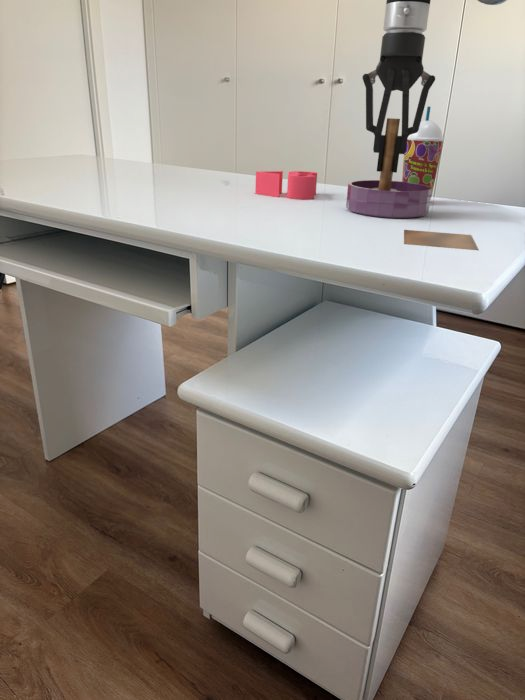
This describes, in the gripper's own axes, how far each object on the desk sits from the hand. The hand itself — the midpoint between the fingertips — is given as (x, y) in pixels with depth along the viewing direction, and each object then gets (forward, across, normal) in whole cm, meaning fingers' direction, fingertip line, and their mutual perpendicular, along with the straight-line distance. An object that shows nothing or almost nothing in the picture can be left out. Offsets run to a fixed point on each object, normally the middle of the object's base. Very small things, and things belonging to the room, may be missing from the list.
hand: (386, 171), depth 105 cm
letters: (+9, -23, +15) cm, 29 cm away
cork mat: (+8, +10, -23) cm, 26 cm away
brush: (+7, 0, 0) cm, 7 cm away
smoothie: (+8, +7, +18) cm, 21 cm away
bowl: (+8, +1, 0) cm, 8 cm away
